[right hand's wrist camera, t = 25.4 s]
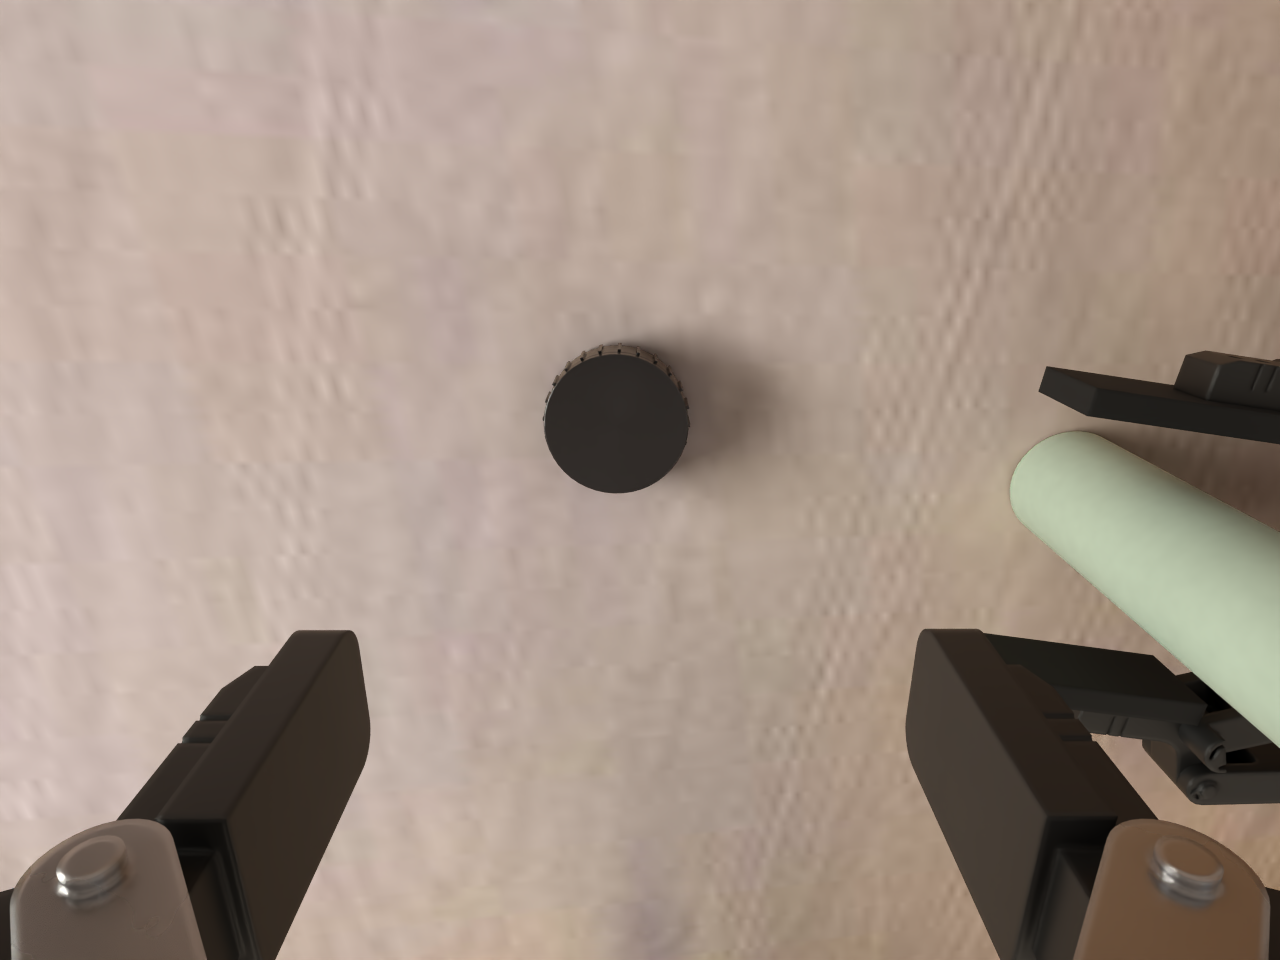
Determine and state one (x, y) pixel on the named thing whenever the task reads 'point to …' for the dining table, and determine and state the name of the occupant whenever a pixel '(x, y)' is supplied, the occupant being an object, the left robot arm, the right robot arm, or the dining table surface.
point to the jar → (1164, 561)
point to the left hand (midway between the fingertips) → (1018, 535)
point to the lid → (616, 419)
